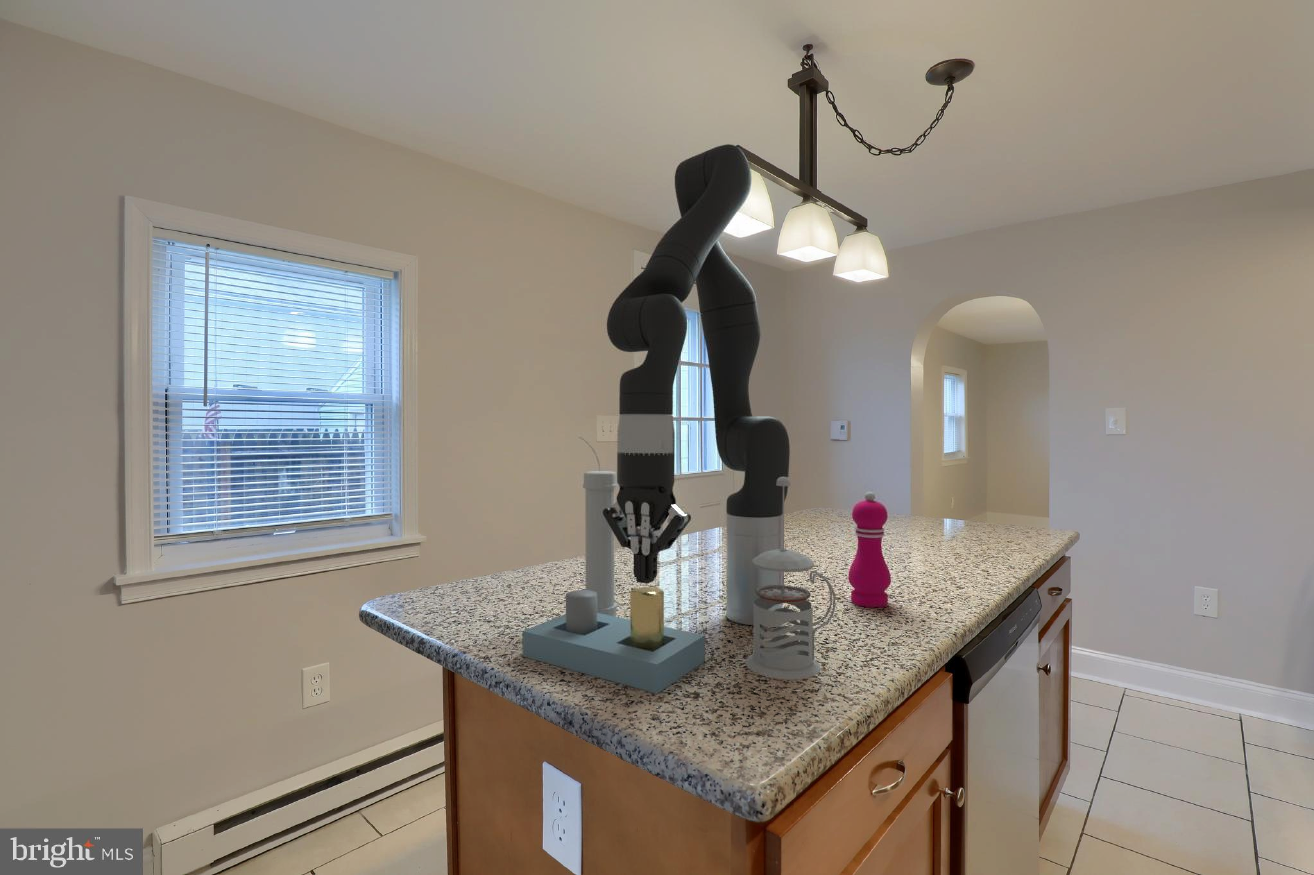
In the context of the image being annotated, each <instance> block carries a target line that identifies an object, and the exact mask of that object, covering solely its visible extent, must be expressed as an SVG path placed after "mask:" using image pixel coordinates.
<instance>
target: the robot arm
mask: <svg viewBox="0 0 1314 875" xmlns="http://www.w3.org/2000/svg"><path fill="white" fill-rule="evenodd" d="M752 179H753V178H752V171H751V167H750V164H749V160H748V159H747V157H746V155H745V153H744V152H743V151H742V149H740V148H739V146H737V145H734V144H729V143H727V144H721V145H719V146H715V147H713V148H710V149H707V150H705V151H703V152H701V153H697V154H695V155H693V156H692V157H689V158H687V159H685V160H682V161H681V162H680V163H679V164H678V165H677V167H676V169H675V172H674V189H675V197H676V203H677V206H678V210H679V214H680V218H679V219H678V220H677V221H676V222H675V223H674V224H673V225H671V227H670V228H669V229H668V230H667V231H666V232H665V234H664V235H663V236H662V238H661V239H660V240H659V241H658V243H657V244H656V246H655V247H654V250H653V252H652V254H651V256H650V258H649V259H648V261H647V263H646V266H645V268H644V270H643V271H642V272H640V273H639V274H638V275H637V276H636V277H635V278H634V279H632V281H631V282H630V283H629V284H628V285H627V286H626V287H625V288H624V289H623V290H622V291H621V293H620V294H618V296H616V299H615V300H613V303H612V305H611V306H610V309H609V312H608V314H607V319H606V332H607V337H608V338H609V340H610V342H611V344H612V345H613V346H614V347H615V348H616V349H617V350H620V351H621V352H626V353H637V352H647V353H646V356H645V358H644V361H643V362H642V363H641V364H640V365H639V366H637V367H635V368H631V369H628V370H626V371H624V372H623V373H622V374H621V376H620V379H619V400H618V402H619V404H618V405H619V406H618V408H619V409H618V410H619V411H618V412H619V413H618V414H619V416H618V425H617V434H616V437H617V438H616V442H617V443H616V448H617V451H616V458H617V459H616V484H617V486H618V487H619V488H618V489H619V490H618V491H617V492H618V493H617V494H616V502H614V504H613V505H612V506H611V507H610V508H605V509H604V510H603V515H604V517H605V519H606V521H607V522H608V524H609V526H610V527H611V529H612V531H613V533H614V537H615V538H616V539H617V541H618V543H619V545H620V546H621V547H622V548H628V549H629V550H631V553H632V554H633V570H632V571H633V572H632V573H633V576H634V578H635V581H636V583H641V584H646V585H647V584H650V583H653V582H654V581H655V578H657V576H658V555H659V553H660V552H662V551H665V550H666V551H667V550H669V549H671V547H672V546H673V544H675V542H676V540H677V539H678V538H679V537H680V535H681V534H682V533H683V531H684V530H685V528H686V527H687V526H688V524H689V523H690V522H691V521H692V516H691V514H690V513H689V512H683V511H682V510H681V509H680V508H679V507H678V506H677V505H676V503H677V499H676V496H675V494H674V491H673V490H674V489H673V488H674V485H675V462H676V461H675V452H676V450H675V447H676V446H675V445H676V444H675V443H676V441H675V439H676V438H675V437H676V436H675V435H676V434H675V424H674V416H673V415H674V384H675V378H676V375H677V371H678V366H679V364H680V360H681V355H682V352H683V349H684V345H685V342H686V341H685V340H686V336H687V333H688V332H687V331H688V317H687V313H686V310H685V307H684V305H683V304H682V303H683V302H684V301H686V299H687V298H688V296H689V295H690V293H691V291H692V289H693V286H694V285H695V286H696V291H697V298H698V306H699V307H698V308H699V313H700V314H699V315H700V320H701V321H700V322H701V327H702V333H703V336H704V342H705V347H706V353H707V360H708V366H709V367H708V368H709V374H710V381H711V389H712V401H713V415H714V416H713V417H714V418H713V419H714V431H715V432H714V433H715V443H716V444H715V445H716V449H717V454H718V455H719V458H720V461H721V462H722V463H723V464H724V465H725V467H727V468H728V469H731V470H732V471H737V472H744V480H743V485H742V486H741V488H740V489H739V490H738V491H736V492H734V493H731V494H729V495H728V496H727V498H726V508H725V509H726V510H725V511H726V516H725V517H726V521H725V522H726V527H725V528H726V529H725V530H726V545H725V546H726V549H725V550H726V566H725V567H726V571H725V572H726V575H725V576H726V577H725V578H726V579H725V581H726V583H725V584H726V587H725V588H726V589H725V590H726V594H725V596H726V598H725V599H726V600H725V602H726V604H725V605H726V606H725V607H726V608H725V609H726V613H725V617H727V619H729V621H732V622H734V623H737V624H741V625H748V626H750V625H751V626H754V600H756V599H757V598H759V596H758V595H757V594H756V590H757V589H758V588H759V587H763V586H765V587H766V585H767V586H768V585H769V586H770V585H775V586H776V585H781V586H782V572H775V571H769V570H764V569H760V568H757V567H756V566H755V565H754V564H753V562H752V561H753V559H754V558H755V557H757V556H758V555H760V554H761V553H764V552H767V551H770V550H777V549H781V548H783V487H782V486H777V485H776V483H777V479H778V478H779V477H787V478H788V479H789V472H790V471H789V470H790V453H791V449H790V437H789V433H788V431H787V429H786V426H785V425H784V424H783V422H782V421H781V420H780V419H778V418H776V417H774V416H753V414H752V408H751V402H750V394H749V393H750V392H749V391H750V390H749V388H750V387H749V384H750V376H751V373H752V369H753V366H754V363H755V359H756V358H757V352H758V350H759V347H760V346H759V345H760V342H761V332H762V331H761V322H760V316H759V309H758V302H757V297H756V293H755V290H754V288H753V287H752V285H751V283H750V282H749V281H748V279H747V278H746V277H745V275H744V274H743V273H742V272H741V270H739V268H738V267H737V266H736V265H735V264H734V262H733V261H732V260H731V259H730V258H729V256H728V255H727V254H726V252H725V250H724V249H723V248H722V245H721V243H720V241H719V238H720V237H721V235H722V233H723V232H724V231H725V229H727V227H728V225H729V224H730V223H731V221H732V219H733V218H734V217H735V216H736V214H737V213H738V212H739V211H740V209H741V208H742V207H743V205H744V204H745V202H746V200H747V199H748V198H749V195H750V192H751V188H752ZM788 489H789V486H785V487H784V503H785V501H786V498H787V496H788ZM665 522H667V523H668V524H667V526H665V528H664V523H665ZM783 605H784V603H782V604H776V605H775V606H773V607H771V608H770V609H768V610H771V611H774V610H776V609H779V608H784V607H783ZM760 626H763V625H762V624H760Z"/></svg>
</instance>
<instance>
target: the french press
mask: <svg viewBox="0 0 1314 875" xmlns="http://www.w3.org/2000/svg"><path fill="white" fill-rule="evenodd" d="M776 485H777V486H782V487H783V548H781V549H777V550H770V551H767V552H764V553H761V554H760V555H758V556H757V557H755V558H754V559H753V561H752V562H753V564H754V565H755V566H756V567H757V568H760V569H764V570H769V571H775V572H782V586H781V585H776V586H775V585H770V586H769V585H768V586H767V585H766V587H765V586H763V587H759V588H758V589H757V590H756V594H757V595H758V596H759V598H757V599H756V600H754V625H753V653H752V654H750V655H749V656H748V657H746V660H745V665H746V667H747V668H748V669H749V671H751V672H754V673H755V674H758V675H760V676H764V677H768V678H771V679H776V680H777V679H778V680H787V681H789V680H790V681H792V680H804V679H808V678H811V677H814V676H816V675H817V674H819V673H820V672H821V664H820V663H819V662H818V661H817V660H816V659H815V632H816V631H817V630H819V629H821V628H823V627H825V626H826V625H827V624H828V623H829V622H830V621H831V619H832V618H833V616H834V615H835V611H836V593H835V590H834V588H833V586H832V584H831V582H830V581H829V580H828V579H827V578H825V576H824V575H822V574H821V573H819V572H818V571H816V570H812V569H813V568H814V566H815V561H814V560H812V559H811V558H810V557H808V556H807V555H805V554H803V553H800V552H797V551H796V550H792V549H787V548H785V502H784V487H785V486H788V487H790V486H791V480H790V479H789V477H788V478H787V477H779V478H778V479H777V483H776ZM805 571H810V572H809V581H810V583H811V584H812V585H813V584H815V579H816V578H815V577H818V578H821V579H823V580H824V581H825V583H826V585H827V588H828V591H829V600H830V601H829V602H830V603H829V605H828V609H827V611H826V613H825V615H824V616H823V617H821V619H820V620H818V621H815V622H814V621H813V620H814V617H813V616H814V615H813V613H814V612H813V610H814V606H813V605H812V602H810V601H809V600H808V599H810V598H811V592H810V591H809V590H808V589H806V588H803V587H799V586H795V585H794V586H792V585H788V584H787V585H785V573H799V572H800V573H801V572H805ZM782 603H783V604H787V605H791V606H794V607H795V608H796V609H798V610H799V611H797V610H794V609H792V608H788V607H783V608H779V609H776V610H774V611H771V610H768V609H770V608H771V607H773V606H775V605H776V604H782ZM831 608H832V611H831ZM830 611H831V613H830ZM829 613H830V615H829ZM828 615H829V618H828ZM826 618H828V619H827V620H826V621H825V622H824V623H823V624H821V625H819V626H816V625H818V624H820V623H822V622H823V621H824V620H825V619H826ZM787 623H789V624H792V626H791V625H790V626H787V625H783V624H787ZM760 624H762V625H760ZM781 625H782V626H781ZM815 626H816V627H815ZM770 628H773V629H771V630H769V631H766V630H767V629H770ZM788 633H791V634H794V635H791V636H789V635H787V634H788ZM767 638H770V640H767V641H765V639H767Z"/></svg>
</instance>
